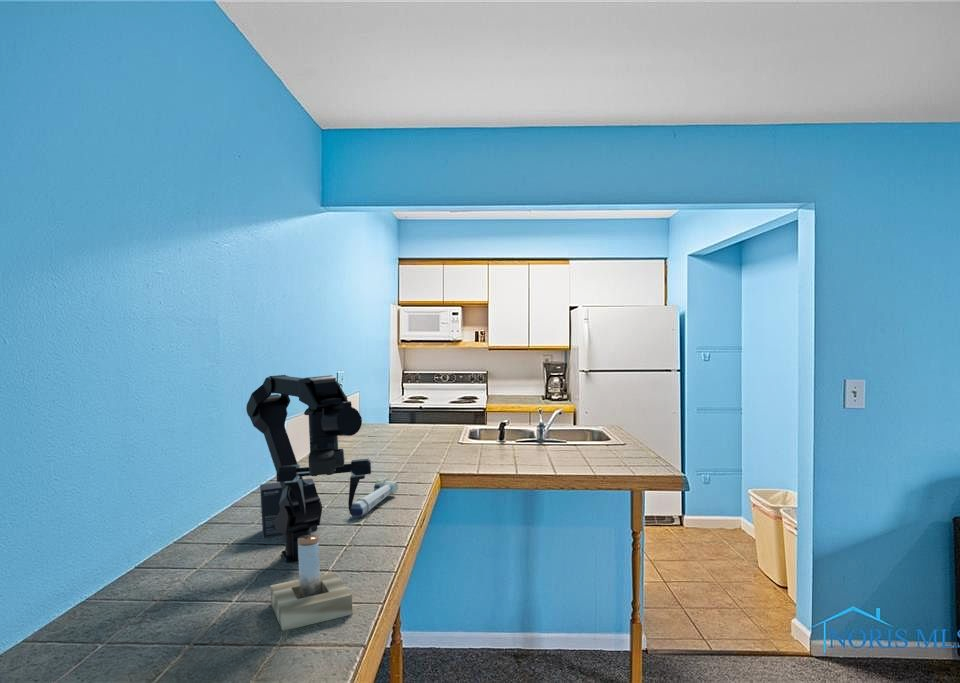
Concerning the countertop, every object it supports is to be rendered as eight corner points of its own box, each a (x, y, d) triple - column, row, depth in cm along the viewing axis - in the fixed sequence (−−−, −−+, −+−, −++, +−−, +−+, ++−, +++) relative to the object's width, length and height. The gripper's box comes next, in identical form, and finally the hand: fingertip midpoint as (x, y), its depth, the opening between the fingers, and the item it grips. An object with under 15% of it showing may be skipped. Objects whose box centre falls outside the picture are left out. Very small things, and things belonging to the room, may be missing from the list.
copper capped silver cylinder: (298, 607, 115) (295, 536, 115) (318, 602, 117) (315, 533, 116) (302, 615, 112) (299, 542, 111) (323, 610, 113) (320, 538, 113)
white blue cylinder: (362, 501, 167) (402, 476, 191) (340, 500, 169) (382, 475, 193) (363, 521, 167) (403, 493, 191) (341, 519, 169) (383, 492, 193)
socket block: (271, 604, 117) (270, 585, 117) (335, 589, 122) (334, 571, 122) (282, 631, 106) (281, 610, 106) (352, 614, 112) (351, 594, 111)
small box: (314, 522, 165) (313, 477, 165) (317, 530, 159) (316, 483, 159) (261, 530, 161) (259, 483, 160) (262, 538, 154) (260, 489, 154)
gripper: (270, 442, 122) (273, 524, 121) (368, 434, 125) (372, 514, 124) (279, 439, 133) (282, 514, 132) (369, 432, 136) (373, 505, 135)
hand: (327, 512), depth 130 cm, fingers open, 9 cm apart
